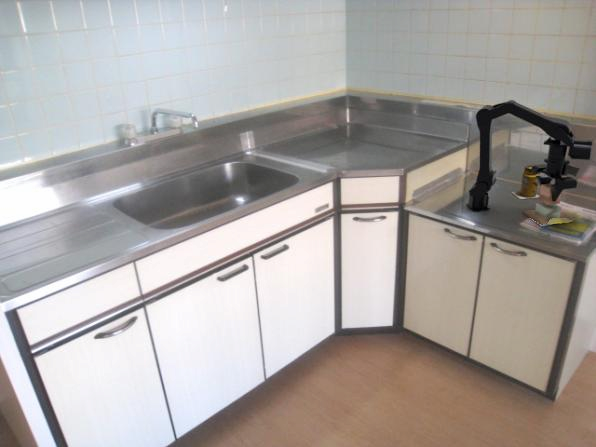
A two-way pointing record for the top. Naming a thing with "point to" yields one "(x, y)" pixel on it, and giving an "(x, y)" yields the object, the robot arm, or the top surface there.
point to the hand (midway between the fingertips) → (549, 198)
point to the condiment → (528, 185)
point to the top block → (547, 195)
